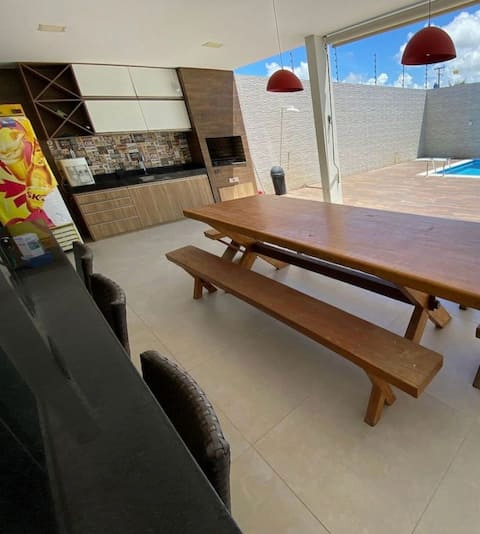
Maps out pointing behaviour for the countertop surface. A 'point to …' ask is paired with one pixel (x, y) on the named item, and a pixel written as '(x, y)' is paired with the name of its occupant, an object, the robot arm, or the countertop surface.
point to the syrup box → (29, 245)
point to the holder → (38, 260)
